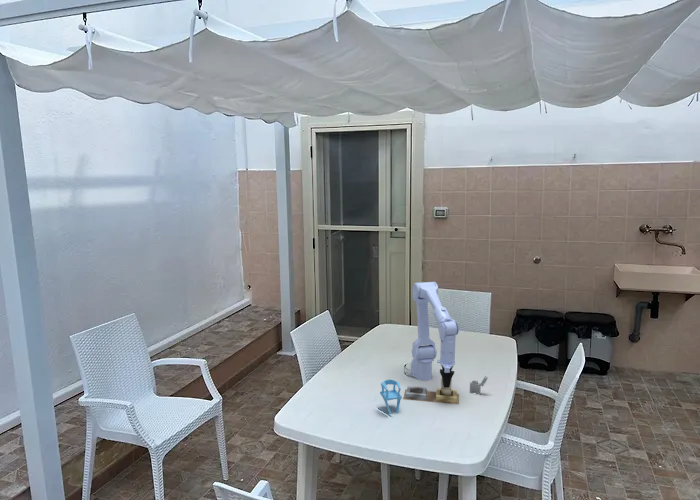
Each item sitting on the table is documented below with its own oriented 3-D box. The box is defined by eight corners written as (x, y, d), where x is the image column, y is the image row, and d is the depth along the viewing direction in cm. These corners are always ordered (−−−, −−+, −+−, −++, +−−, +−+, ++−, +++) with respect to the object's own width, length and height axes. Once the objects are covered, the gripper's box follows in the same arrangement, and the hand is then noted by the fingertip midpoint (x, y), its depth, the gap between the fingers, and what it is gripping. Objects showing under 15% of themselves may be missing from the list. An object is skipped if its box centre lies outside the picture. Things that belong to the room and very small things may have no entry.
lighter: (469, 392, 210) (470, 374, 209) (470, 391, 211) (471, 373, 210) (486, 396, 206) (487, 377, 205) (487, 394, 208) (488, 376, 207)
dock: (402, 401, 201) (403, 394, 200) (405, 391, 211) (405, 384, 210) (459, 406, 197) (459, 399, 196) (458, 396, 206) (459, 389, 206)
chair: (384, 417, 187) (385, 387, 185) (377, 408, 195) (377, 378, 193) (404, 415, 189) (404, 385, 188) (395, 405, 197) (396, 376, 195)
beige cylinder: (438, 397, 203) (439, 378, 202) (446, 394, 205) (446, 376, 204) (445, 400, 200) (446, 381, 199) (453, 398, 202) (453, 379, 201)
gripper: (438, 344, 208) (437, 375, 209) (436, 356, 193) (435, 389, 195) (455, 345, 206) (454, 377, 208) (455, 357, 192) (454, 391, 194)
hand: (446, 383), depth 202 cm, fingers open, 7 cm apart
